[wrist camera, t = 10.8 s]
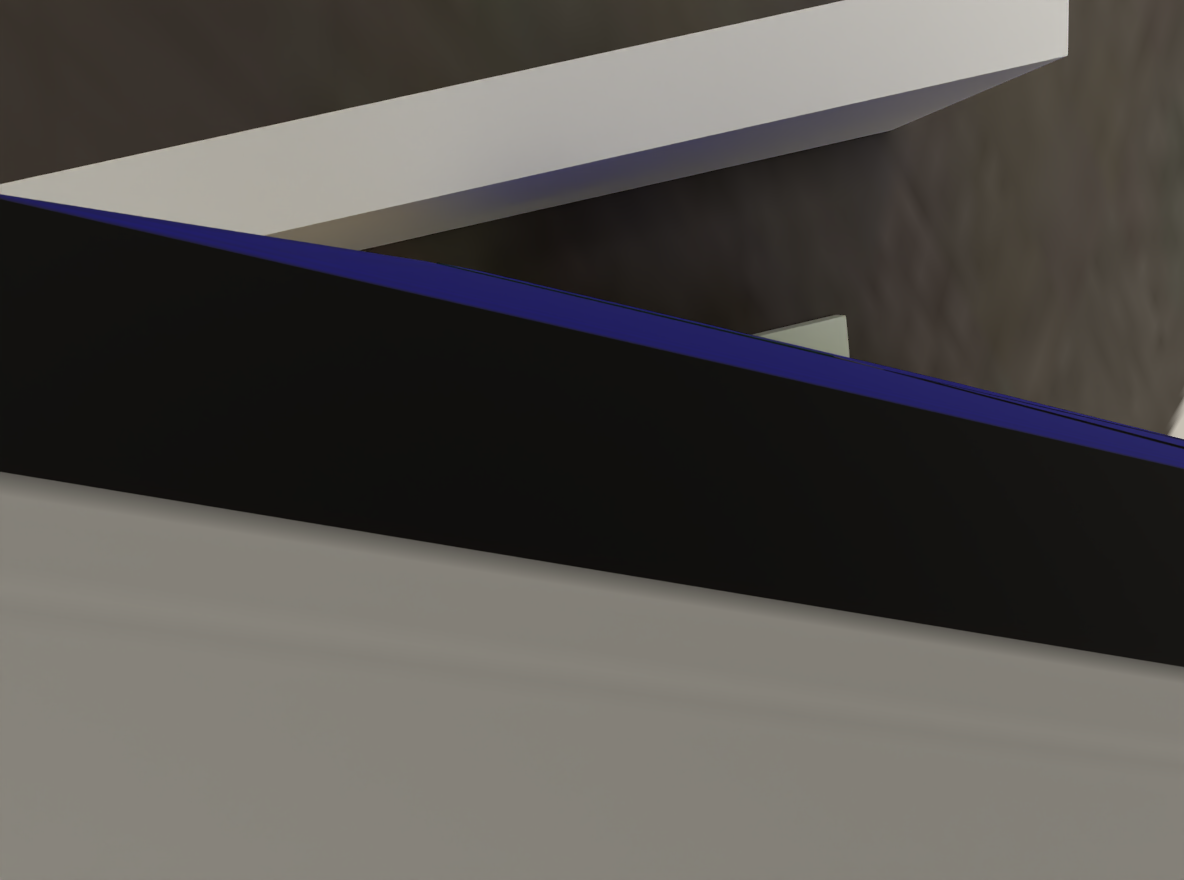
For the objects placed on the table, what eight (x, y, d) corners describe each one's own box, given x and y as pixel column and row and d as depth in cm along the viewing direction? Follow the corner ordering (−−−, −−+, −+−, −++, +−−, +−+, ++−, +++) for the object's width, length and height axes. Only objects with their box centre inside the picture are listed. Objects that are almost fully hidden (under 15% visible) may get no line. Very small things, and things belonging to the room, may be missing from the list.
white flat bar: (204, 285, 11) (31, 287, 7) (179, 221, 11) (-18, 188, 7) (891, 130, 12) (1067, 55, 8) (887, 63, 11) (1070, -49, 7)
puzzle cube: (956, 381, 12) (2943, 868, 2) (802, 776, 14) (1373, 1844, 4) (461, 264, 10) (-833, 24, 1) (385, 729, 13) (-99, 2172, 3)
